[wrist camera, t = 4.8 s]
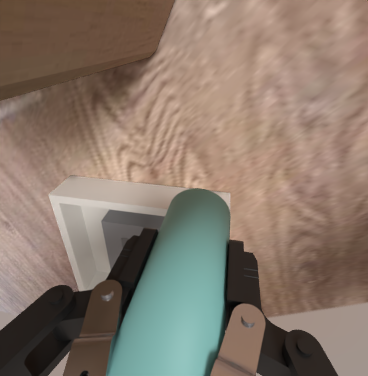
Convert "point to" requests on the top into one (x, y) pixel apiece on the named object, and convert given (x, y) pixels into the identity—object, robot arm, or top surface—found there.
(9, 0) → the wooden block
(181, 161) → the top surface
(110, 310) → the robot arm
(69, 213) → the bin
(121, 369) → the peg
